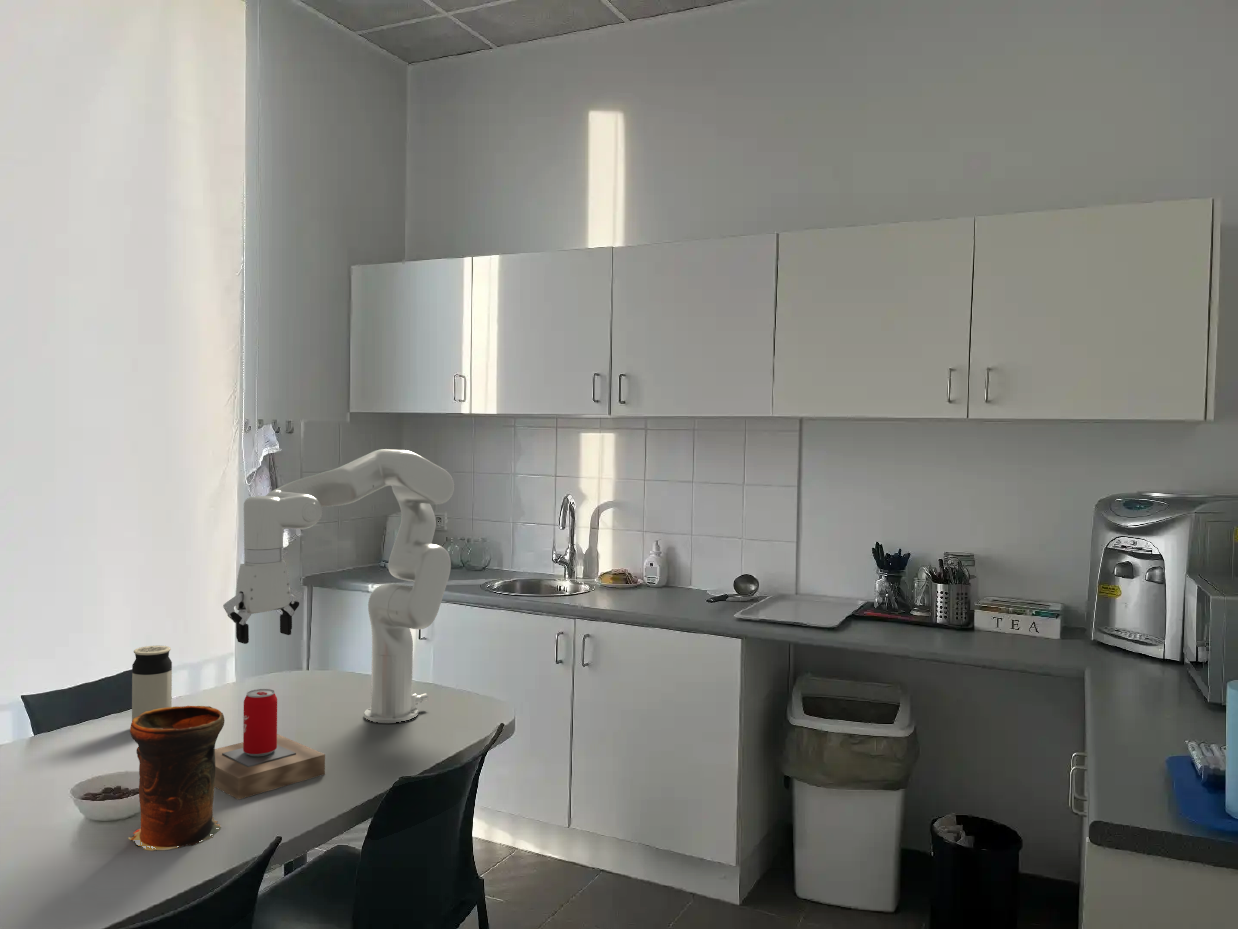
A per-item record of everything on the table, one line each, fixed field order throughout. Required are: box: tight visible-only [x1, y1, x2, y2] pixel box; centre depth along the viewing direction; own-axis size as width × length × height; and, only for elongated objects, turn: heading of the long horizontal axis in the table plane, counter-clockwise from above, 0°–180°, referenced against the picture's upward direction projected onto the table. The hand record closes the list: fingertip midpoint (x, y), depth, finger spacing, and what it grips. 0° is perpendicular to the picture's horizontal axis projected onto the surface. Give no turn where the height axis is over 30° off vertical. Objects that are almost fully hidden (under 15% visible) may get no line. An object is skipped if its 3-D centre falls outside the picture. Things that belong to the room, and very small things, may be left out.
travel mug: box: [131, 645, 173, 722], centre depth 213 cm, size 8×8×18 cm
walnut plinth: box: [214, 733, 326, 801], centre depth 187 cm, size 18×18×4 cm
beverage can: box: [242, 688, 278, 756], centre depth 187 cm, size 6×6×12 cm
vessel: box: [127, 705, 225, 852], centre depth 160 cm, size 14×14×20 cm
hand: (264, 638), depth 196 cm, fingers open, 9 cm apart
